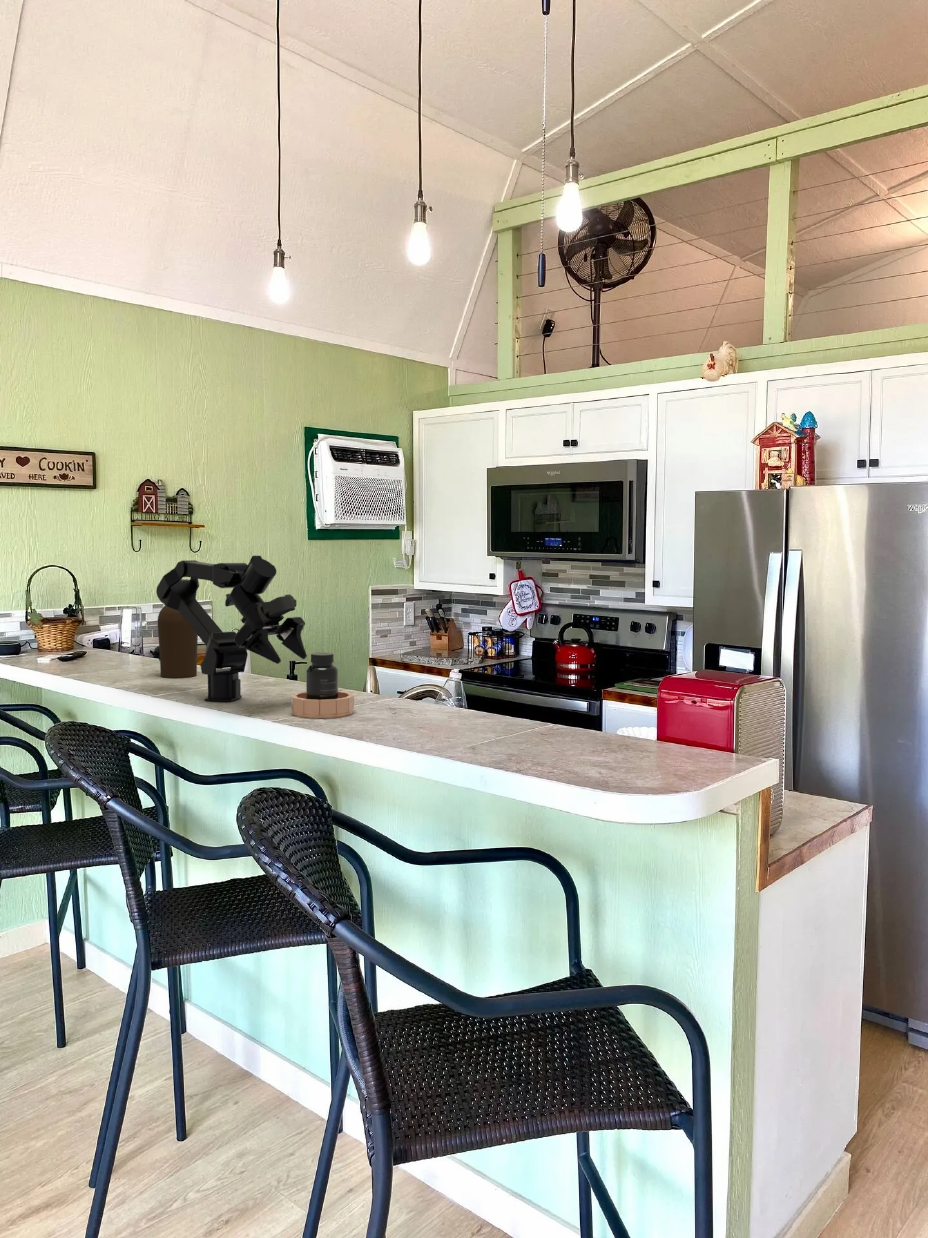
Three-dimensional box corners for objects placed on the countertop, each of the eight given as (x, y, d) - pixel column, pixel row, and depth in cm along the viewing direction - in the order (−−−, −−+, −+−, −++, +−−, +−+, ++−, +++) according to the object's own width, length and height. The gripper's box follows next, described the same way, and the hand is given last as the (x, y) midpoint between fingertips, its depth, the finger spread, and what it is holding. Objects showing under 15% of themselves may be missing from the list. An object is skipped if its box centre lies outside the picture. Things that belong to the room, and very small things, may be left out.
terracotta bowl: (282, 716, 189) (282, 698, 189) (305, 706, 202) (305, 689, 201) (341, 719, 186) (341, 701, 186) (360, 709, 199) (360, 691, 199)
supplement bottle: (300, 708, 195) (300, 652, 194) (328, 705, 199) (328, 651, 198) (315, 712, 189) (315, 656, 188) (344, 709, 194) (344, 654, 193)
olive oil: (207, 674, 249) (206, 584, 247) (182, 679, 239) (181, 585, 237) (175, 672, 253) (173, 583, 251) (149, 677, 243) (148, 584, 241)
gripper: (244, 584, 189) (287, 639, 185) (298, 581, 206) (338, 632, 202) (216, 619, 193) (257, 674, 189) (271, 614, 210) (309, 664, 206)
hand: (292, 660), depth 197 cm, fingers open, 9 cm apart
